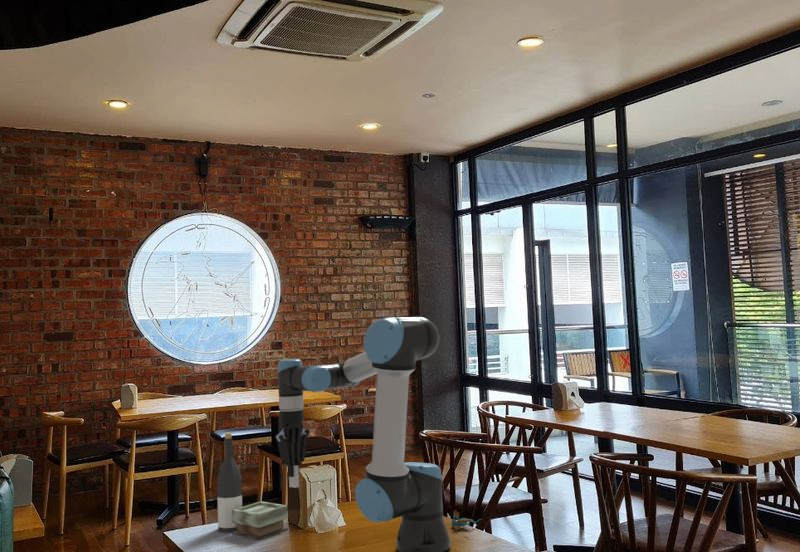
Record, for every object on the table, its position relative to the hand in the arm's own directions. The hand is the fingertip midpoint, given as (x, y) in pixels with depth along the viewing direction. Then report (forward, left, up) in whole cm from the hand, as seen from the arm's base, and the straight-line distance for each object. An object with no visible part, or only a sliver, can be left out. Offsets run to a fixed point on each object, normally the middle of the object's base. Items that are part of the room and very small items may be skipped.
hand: (294, 486), depth 227 cm
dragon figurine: (-46, -32, -13) cm, 58 cm away
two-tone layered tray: (+10, +5, -14) cm, 18 cm away
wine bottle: (+21, +8, -14) cm, 26 cm away
